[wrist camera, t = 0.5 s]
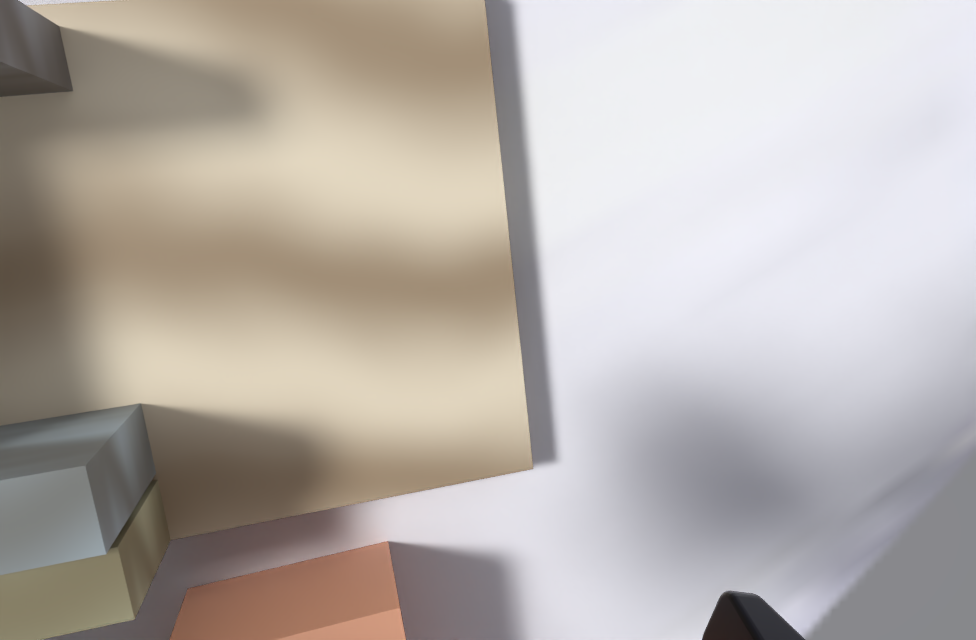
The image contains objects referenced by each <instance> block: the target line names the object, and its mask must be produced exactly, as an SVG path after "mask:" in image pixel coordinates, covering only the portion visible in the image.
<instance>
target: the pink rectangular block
mask: <svg viewBox="0 0 976 640" xmlns="http://www.w3.org/2000/svg"><path fill="white" fill-rule="evenodd" d="M169 640H406V636H405V631H404V625H403V620H402V614H401V609H400V604H399V598H398V593H397V587H396V582H395V576H394V571H393V565H392V560H391V554H390V549H389V544H388V541H387V542H382V543H378V544H374V545H370V546H366V547H361V548H357V549H353V550H349V551H344V552H340V553H336V554H332V555H328V556H323V557H319V558H315V559H311V560H306V561H302V562H298V563H294V564H290V565H285V566H281V567H277V568H273V569H268V570H264V571H260V572H256V573H252V574H247V575H243V576H239V577H235V578H230V579H226V580H222V581H218V582H214V583H209V584H205V585H201V586H197V587H192V588H188V589H187V592H186V595H185V597H184V600H183V603H182V606H181V609H180V611H179V614H178V617H177V620H176V623H175V625H174V628H173V631H172V634H171V637H170V639H169Z"/></svg>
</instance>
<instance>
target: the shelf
mask: <svg viewBox="0 0 976 640" xmlns="http://www.w3.org/2000/svg"><path fill="white" fill-rule="evenodd" d="M530 469H533V462H532V452H531V443H530V433H529V423H528V414H527V404H526V394H525V385H524V375H523V365H522V356H521V346H520V336H519V327H518V317H517V307H516V298H515V288H514V278H513V268H512V259H511V249H510V239H509V230H508V220H507V210H506V201H505V191H504V181H503V172H502V162H501V152H500V143H499V133H498V123H497V114H496V104H495V94H494V84H493V75H492V65H491V55H490V46H489V36H488V26H487V17H486V7H485V0H116V1H99V2H81V3H63V4H45V5H27V6H26V5H25V4H23V3H21V2H20V1H18V0H0V640H42V639H47V638H51V637H56V636H61V635H65V634H70V633H75V632H79V631H84V630H89V629H93V628H98V627H103V626H107V625H112V624H116V623H121V622H126V621H130V620H135V618H136V616H137V613H138V611H139V609H140V607H141V605H142V603H143V600H144V598H145V596H146V594H147V592H148V589H149V587H150V585H151V583H152V581H153V578H154V576H155V574H156V572H157V570H158V567H159V565H160V563H161V561H162V559H163V556H164V554H165V552H166V550H167V548H168V545H169V543H170V541H171V540H175V539H180V538H185V537H190V536H195V535H200V534H205V533H210V532H215V531H220V530H226V529H231V528H236V527H241V526H246V525H251V524H256V523H261V522H266V521H271V520H276V519H281V518H286V517H292V516H297V515H302V514H307V513H312V512H317V511H322V510H327V509H332V508H337V507H342V506H347V505H352V504H358V503H363V502H368V501H373V500H378V499H383V498H388V497H393V496H398V495H403V494H408V493H413V492H418V491H424V490H429V489H434V488H439V487H444V486H449V485H454V484H459V483H464V482H469V481H474V480H479V479H484V478H490V477H495V476H500V475H505V474H510V473H515V472H520V471H525V470H530Z"/></svg>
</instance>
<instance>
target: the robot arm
mask: <svg viewBox="0 0 976 640" xmlns="http://www.w3.org/2000/svg"><path fill="white" fill-rule="evenodd" d="M702 640H805V639H804V638H803V637H802V636H801V635H800V634H799V633H798V632H797V631H796V630H795V629H794V628H793V627H791V626H790V625H789V624H788V623H787V622H786V621H785V620H784V619H783V618H782V617H781V616H780V615H779V614H778V613H777V612H776V611H775V610H774V609H773V608H772V607H770V606H769V605H768V604H767V603H766V602H765V601H764V600H763V599H762V598H761V597H759V596H758V595H756V594H753V593H745V592H737V591H726V592H724V593H723V594H722V595H721V596H720V598H719V600H718V602H717V605H716V607H715V609H714V611H713V614H712V616H711V618H710V620H709V623H708V625H707V627H706V629H705V632H704V634H703V638H702Z"/></svg>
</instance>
